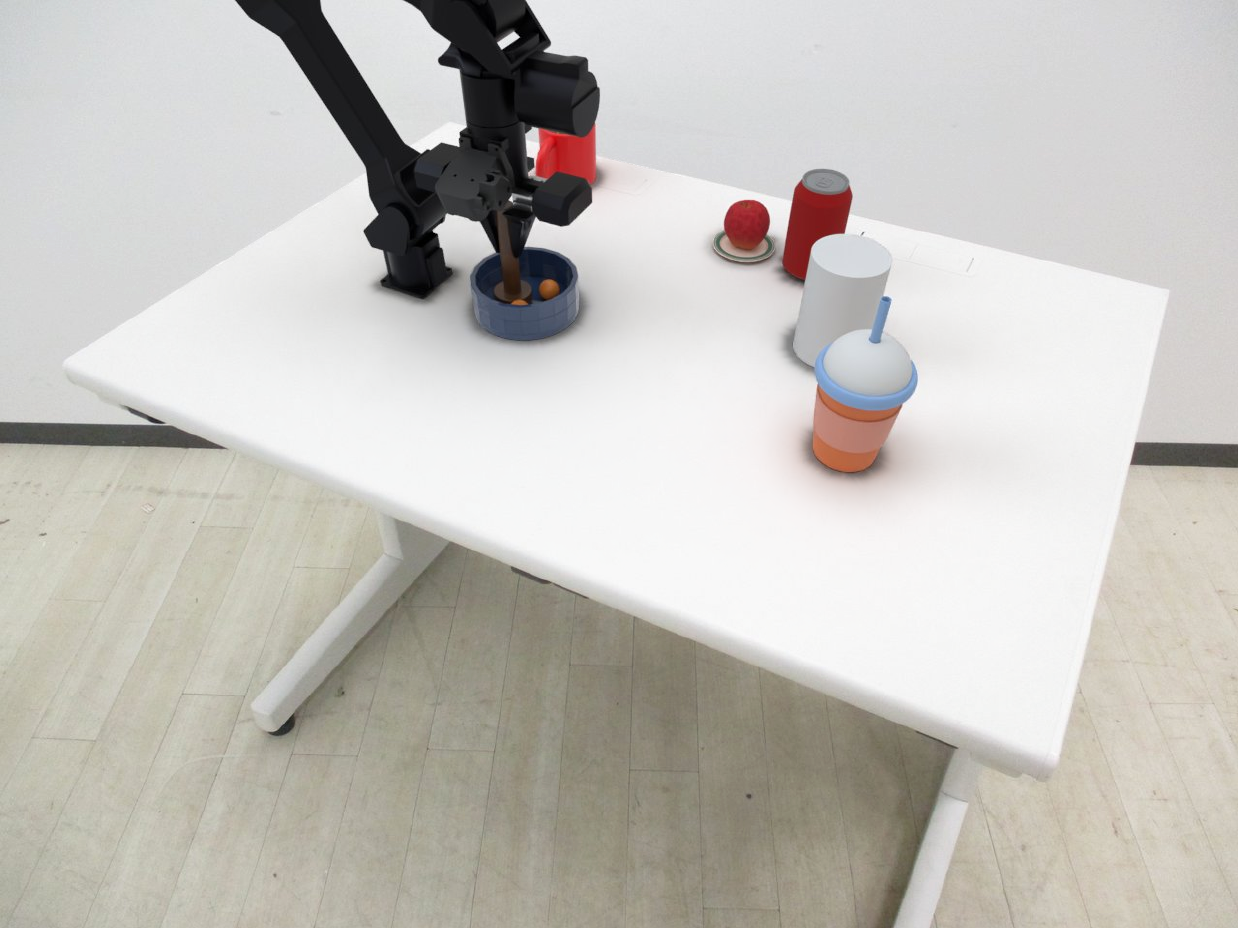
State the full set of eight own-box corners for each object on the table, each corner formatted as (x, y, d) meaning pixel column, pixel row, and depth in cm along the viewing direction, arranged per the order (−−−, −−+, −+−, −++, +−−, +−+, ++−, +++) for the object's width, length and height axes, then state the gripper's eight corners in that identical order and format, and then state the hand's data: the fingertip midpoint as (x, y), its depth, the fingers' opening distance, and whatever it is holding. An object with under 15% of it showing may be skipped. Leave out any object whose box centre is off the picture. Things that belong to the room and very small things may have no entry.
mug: (517, 196, 118) (512, 141, 112) (557, 159, 125) (554, 106, 119) (567, 209, 115) (565, 153, 110) (605, 170, 123) (605, 117, 117)
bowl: (454, 322, 98) (448, 289, 94) (510, 269, 105) (506, 237, 102) (545, 352, 94) (543, 319, 91) (597, 295, 101) (596, 263, 98)
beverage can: (844, 265, 106) (864, 175, 98) (822, 291, 102) (842, 200, 94) (794, 249, 109) (810, 160, 100) (771, 274, 105) (786, 184, 96)
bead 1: (505, 321, 96) (504, 304, 95) (516, 310, 98) (515, 293, 96) (524, 327, 96) (522, 310, 94) (534, 316, 97) (533, 298, 95)
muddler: (487, 303, 98) (475, 209, 89) (507, 283, 101) (497, 190, 92) (520, 313, 97) (510, 219, 88) (539, 293, 99) (532, 200, 91)
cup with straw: (891, 491, 80) (946, 339, 67) (794, 476, 81) (829, 324, 68) (889, 425, 86) (939, 275, 73) (799, 413, 87) (832, 263, 74)
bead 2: (535, 301, 99) (534, 283, 97) (546, 290, 101) (545, 273, 99) (553, 306, 98) (552, 289, 97) (563, 296, 100) (562, 278, 98)
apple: (704, 256, 107) (708, 210, 103) (723, 226, 112) (728, 180, 108) (765, 270, 105) (772, 223, 100) (781, 238, 110) (789, 192, 106)
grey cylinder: (874, 337, 96) (900, 245, 87) (856, 380, 91) (882, 285, 82) (804, 319, 98) (823, 227, 90) (783, 359, 93) (801, 265, 85)
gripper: (366, 129, 81) (396, 269, 92) (535, 171, 75) (545, 315, 86) (434, 86, 88) (454, 221, 99) (593, 122, 82) (595, 261, 93)
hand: (508, 254), depth 94 cm, fingers closed on muddler, 2 cm apart
